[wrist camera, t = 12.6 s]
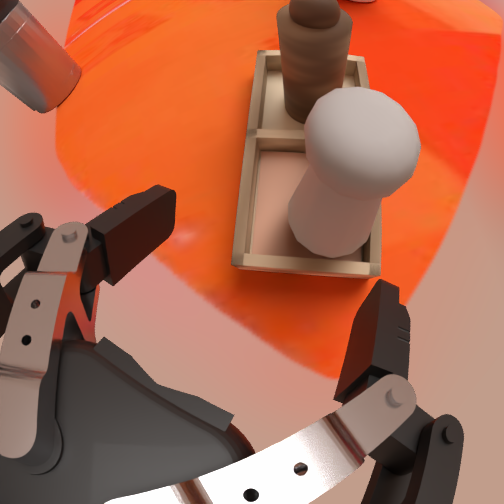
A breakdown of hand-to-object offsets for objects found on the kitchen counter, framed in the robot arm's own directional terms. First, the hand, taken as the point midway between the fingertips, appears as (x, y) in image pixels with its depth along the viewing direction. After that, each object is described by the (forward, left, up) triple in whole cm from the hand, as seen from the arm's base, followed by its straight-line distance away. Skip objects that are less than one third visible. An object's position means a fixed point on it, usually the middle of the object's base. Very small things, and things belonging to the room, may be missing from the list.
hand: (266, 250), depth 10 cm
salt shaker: (+3, +4, -11) cm, 12 cm away
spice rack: (+2, +10, -12) cm, 16 cm away
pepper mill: (+2, +15, -11) cm, 19 cm away
